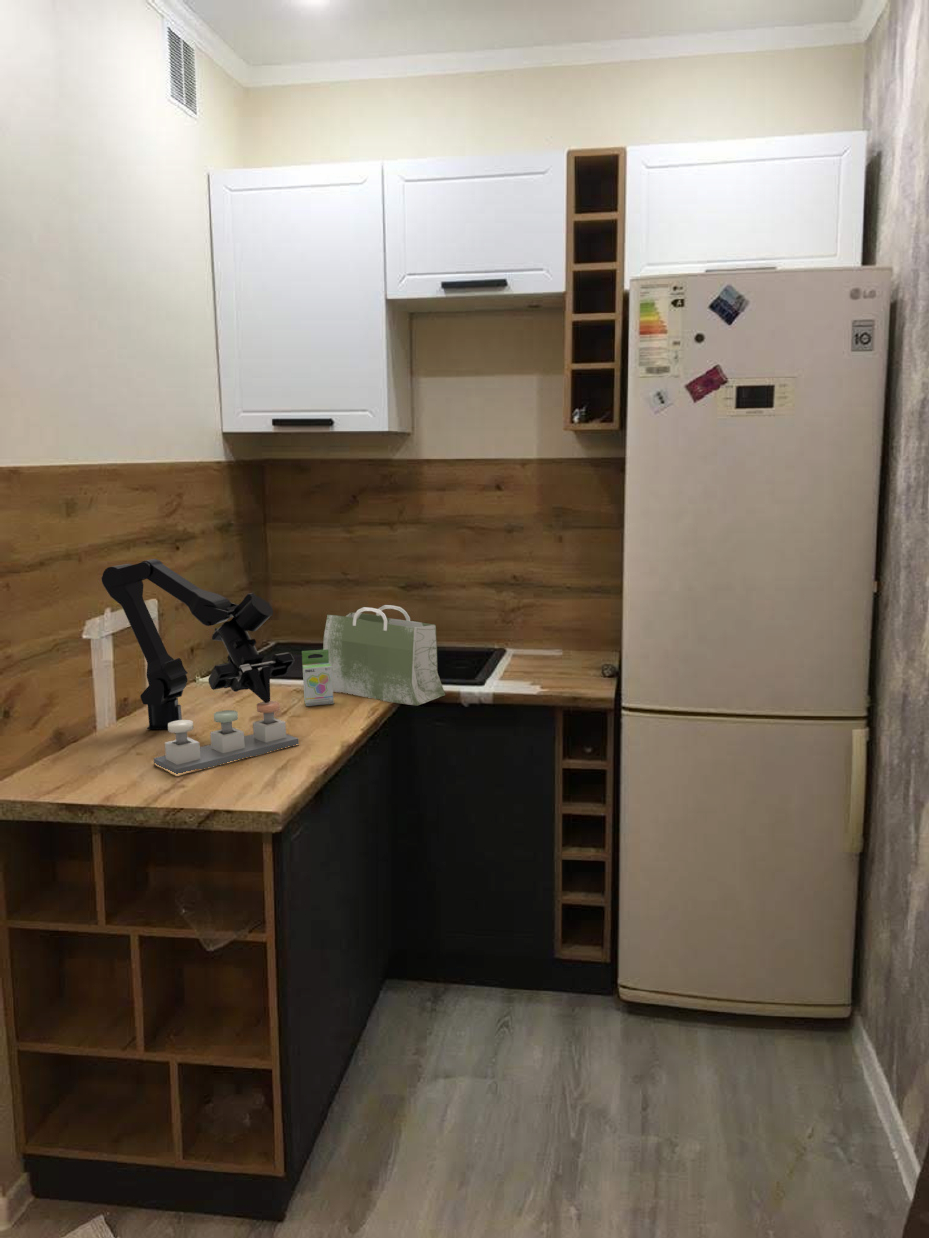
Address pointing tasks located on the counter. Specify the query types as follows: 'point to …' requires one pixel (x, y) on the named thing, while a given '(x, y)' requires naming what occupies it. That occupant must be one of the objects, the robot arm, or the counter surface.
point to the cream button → (180, 730)
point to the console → (225, 747)
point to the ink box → (317, 678)
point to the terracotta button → (268, 710)
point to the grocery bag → (383, 657)
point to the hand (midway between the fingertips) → (268, 701)
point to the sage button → (226, 720)
